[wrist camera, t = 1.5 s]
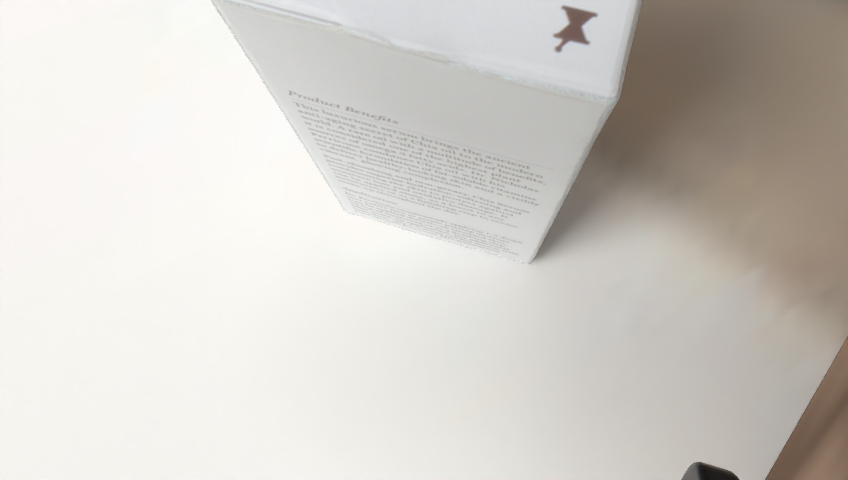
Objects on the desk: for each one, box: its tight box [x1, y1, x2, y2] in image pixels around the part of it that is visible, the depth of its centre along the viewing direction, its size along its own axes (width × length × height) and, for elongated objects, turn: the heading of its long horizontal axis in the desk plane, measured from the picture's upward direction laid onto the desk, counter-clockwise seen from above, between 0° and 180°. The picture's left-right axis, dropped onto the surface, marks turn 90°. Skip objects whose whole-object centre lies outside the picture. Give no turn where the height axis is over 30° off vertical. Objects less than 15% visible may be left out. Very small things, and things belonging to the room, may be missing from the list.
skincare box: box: [211, 0, 643, 264], centre depth 16 cm, size 6×4×12 cm
